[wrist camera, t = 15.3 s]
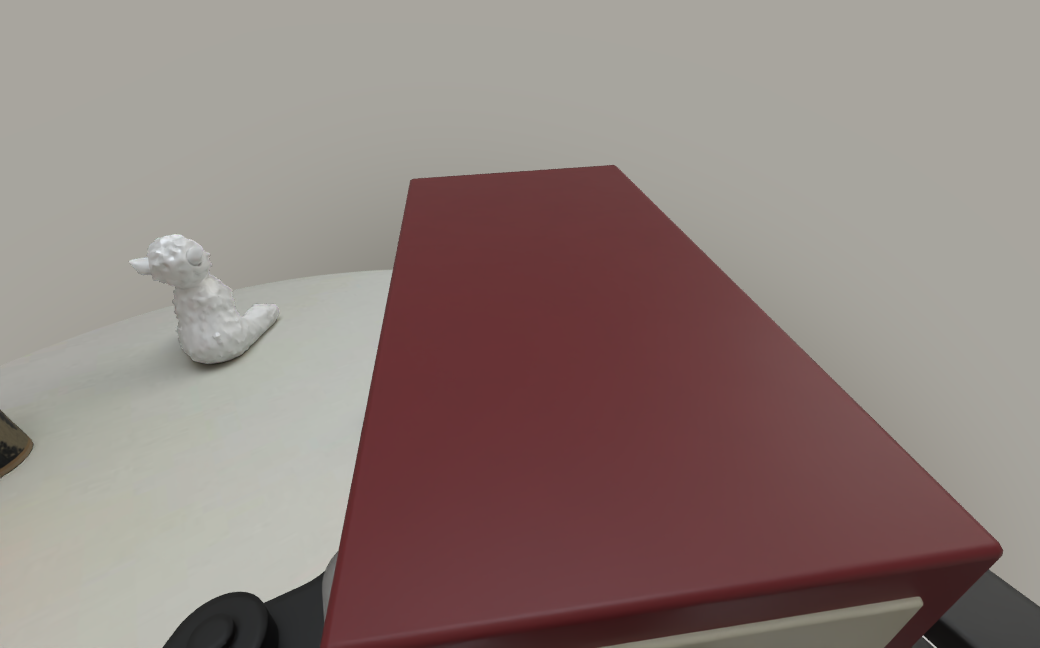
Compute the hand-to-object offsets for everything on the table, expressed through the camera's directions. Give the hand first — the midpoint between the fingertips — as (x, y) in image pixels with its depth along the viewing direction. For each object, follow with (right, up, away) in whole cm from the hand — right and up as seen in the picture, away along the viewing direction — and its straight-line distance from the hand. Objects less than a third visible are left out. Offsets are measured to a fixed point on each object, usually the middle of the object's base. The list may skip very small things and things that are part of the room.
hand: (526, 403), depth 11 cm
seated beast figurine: (-29, 0, +36) cm, 47 cm away
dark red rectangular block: (+1, -7, +2) cm, 7 cm away
